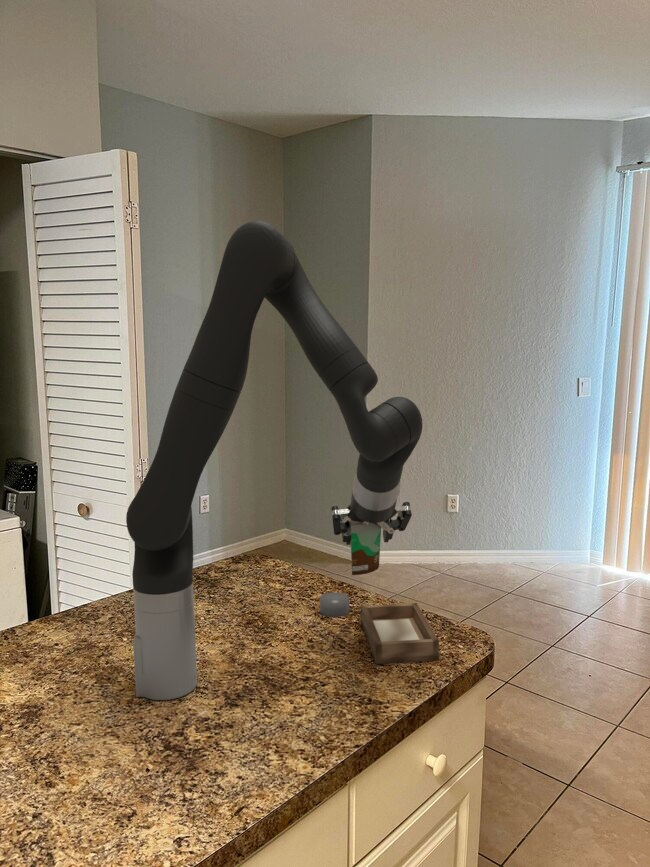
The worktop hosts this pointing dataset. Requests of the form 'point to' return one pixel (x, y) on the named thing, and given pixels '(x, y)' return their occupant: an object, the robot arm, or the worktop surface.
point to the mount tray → (399, 633)
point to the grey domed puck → (334, 604)
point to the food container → (365, 547)
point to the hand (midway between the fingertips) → (366, 539)
